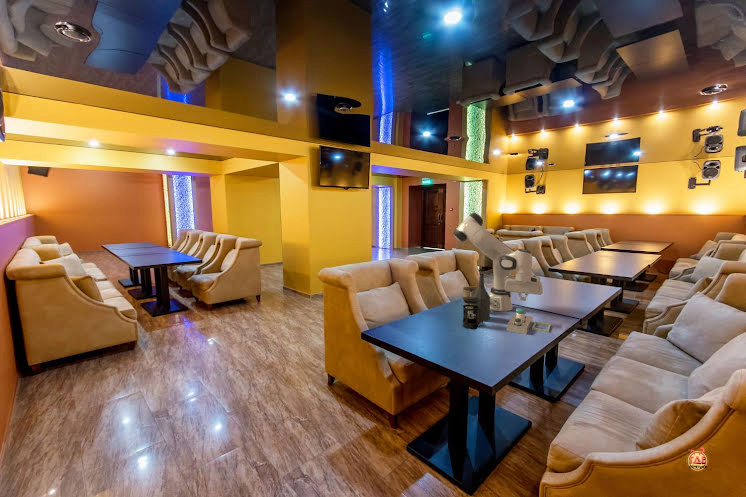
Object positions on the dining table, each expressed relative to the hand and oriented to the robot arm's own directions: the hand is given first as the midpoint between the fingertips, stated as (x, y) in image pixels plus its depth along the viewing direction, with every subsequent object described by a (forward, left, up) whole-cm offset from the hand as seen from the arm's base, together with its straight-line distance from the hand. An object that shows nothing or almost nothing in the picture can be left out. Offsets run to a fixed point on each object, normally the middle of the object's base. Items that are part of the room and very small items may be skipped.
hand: (523, 300), depth 189 cm
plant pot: (-32, +11, -15) cm, 37 cm away
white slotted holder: (0, -7, -15) cm, 17 cm away
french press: (-25, -17, -15) cm, 34 cm away
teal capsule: (0, -7, -14) cm, 15 cm away
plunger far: (0, 0, -11) cm, 11 cm away
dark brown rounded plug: (0, -15, -11) cm, 18 cm away
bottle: (-23, -4, -15) cm, 28 cm away
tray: (+10, -3, -15) cm, 19 cm away
